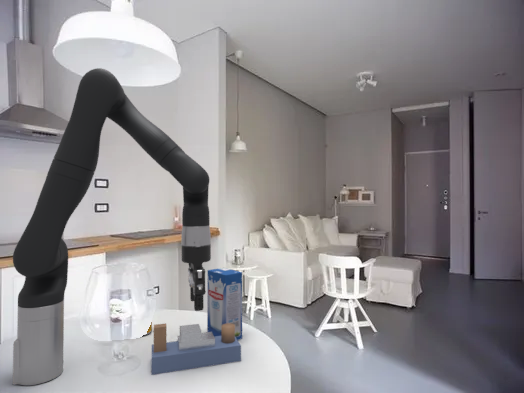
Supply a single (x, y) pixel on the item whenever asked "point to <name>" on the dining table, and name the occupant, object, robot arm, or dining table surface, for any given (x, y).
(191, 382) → the dining table surface
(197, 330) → the lever cap
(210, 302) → the milk carton
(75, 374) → the dining table surface
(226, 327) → the hand plane
